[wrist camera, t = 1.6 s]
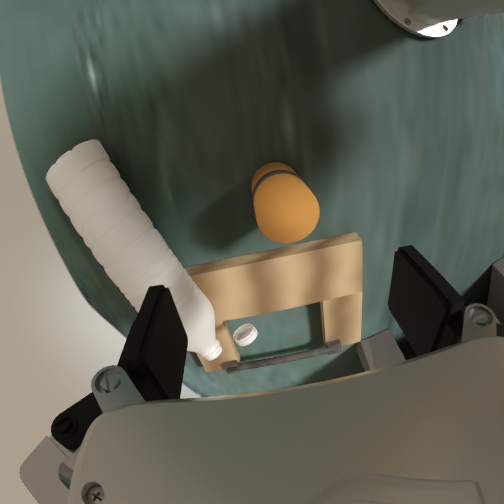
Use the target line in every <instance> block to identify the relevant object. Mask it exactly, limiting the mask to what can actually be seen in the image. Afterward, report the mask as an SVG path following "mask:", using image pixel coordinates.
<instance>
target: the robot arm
mask: <svg viewBox="0 0 504 504" xmlns="http://www.w3.org/2000/svg"><path fill="white" fill-rule="evenodd" d="M373 1H374V3H375V4H376V5H377V6H378V7H379V9H380V10H381V11H382V12H383V13H384V14H385V15H386V16H387V17H388V18H389V19H390V20H392V21H393V22H394V23H396V24H397V25H398V26H400V27H401V28H403V29H405V30H406V31H408V32H410V33H412V34H415V35H417V36H421V37H425V38H437V37H442V36H445V35H448V34H449V33H450V32H452V31H453V29H454V28H455V26H456V23H457V20H458V19H462V18H468V17H473V16H479V17H482V18H486V17H487V15H488V14H493V13H502V12H504V0H373ZM388 306H389V309H390V311H391V313H392V315H393V316H394V318H395V319H396V321H397V323H398V324H399V326H400V328H401V329H402V331H403V333H404V334H405V336H406V338H407V340H408V341H409V343H410V345H411V346H412V348H413V350H414V352H415V353H416V355H417V357H415V358H411V359H408V360H405V361H402V362H398V363H395V364H392V365H388V366H385V367H381V368H377V369H373V370H370V371H366V372H362V373H358V374H354V375H349V376H345V377H341V378H336V379H332V380H327V381H322V382H317V383H312V384H306V385H301V386H295V387H289V388H282V389H276V390H269V391H262V392H254V393H245V394H236V395H226V396H214V397H201V398H187V399H180V394H181V387H182V380H183V373H184V366H185V359H186V353H187V347H188V337H187V334H186V331H185V329H184V326H183V324H182V321H181V318H180V316H179V313H178V311H177V308H176V305H175V303H174V300H173V297H172V295H171V292H170V289H169V288H168V287H167V288H165V286H164V285H155V286H149V288H148V290H147V293H146V295H145V298H144V300H143V303H142V305H141V308H140V310H139V313H138V315H137V318H136V320H134V322H133V324H132V327H131V329H130V332H129V334H128V337H127V340H126V343H125V345H124V348H123V351H122V354H121V356H120V359H119V362H118V365H117V366H114V365H112V366H107V367H105V368H103V369H101V370H100V371H98V372H97V373H96V375H95V376H94V377H93V379H92V382H91V387H92V391H93V392H92V393H90V394H89V395H87V396H86V397H84V398H83V399H81V400H80V401H79V402H77V403H75V404H74V405H72V406H71V407H70V408H68V409H66V410H65V411H64V412H62V413H60V414H59V415H58V416H57V417H56V418H55V419H54V421H53V423H52V426H51V433H52V435H51V437H50V438H49V437H48V436H46V437H45V438H44V439H43V440H42V441H41V443H40V444H39V445H38V446H37V447H36V449H34V451H33V452H32V453H31V454H30V455H29V456H28V458H27V459H26V460H25V461H24V462H23V464H22V465H21V467H20V478H21V480H22V482H23V483H24V485H25V486H26V487H27V489H28V490H29V491H30V493H31V494H32V495H33V497H34V498H35V499H36V500H37V502H38V503H39V504H504V325H501V324H498V323H496V315H495V314H494V312H493V311H492V310H491V309H490V308H489V307H487V306H486V305H483V304H478V303H475V304H471V305H468V306H467V308H466V307H465V305H464V300H463V298H462V297H461V296H460V295H459V294H458V293H457V292H456V290H455V289H454V288H453V287H452V286H451V285H450V284H449V283H448V282H447V281H446V280H445V278H444V277H443V276H442V275H441V274H440V273H439V272H438V271H437V270H436V269H435V268H434V267H433V266H432V265H431V264H430V263H429V262H428V261H427V260H426V259H425V258H424V257H423V256H422V255H421V254H420V253H419V252H418V251H417V250H416V249H415V248H414V247H413V246H412V245H409V246H404V247H400V248H399V249H398V251H396V252H395V255H394V264H393V272H392V280H391V287H390V294H389V300H388Z"/></svg>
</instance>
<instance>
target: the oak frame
mask: <svg viewBox="0 0 504 504" xmlns="http://www.w3.org/2000/svg"><path fill="white" fill-rule="evenodd" d="M184 269H185V270H186V271H187V273H188V275H190V276H191V278H192V280H193V281H194V282H195V283H196V284H197V287H198V288H200V290H201V291H202V292H203V293H204V294H205V296H206V297H207V298H208V299H209V301H210V302H211V304H212V307H213V309H214V313H215V334H216V339H218V340H219V341H220V345H221V347H222V352H221V353H220V355H219V356H218V357H217V358H215V359H213V360H211V361H208V360H206V359H205V358H203V357H200V356H199V353H197V352H196V353H197V355H198V357H199V359H200V361H201V363H202V365H203V367H204V369H205V371H206V372H208V371H216V370H224V369H225V370H226V372H227V374H229V373H236V372H240V370H246V369H252V368H258V367H264V366H270V365H275V364H280V363H285V362H291V361H295V360H300V359H305V358H309V357H314V356H318V355H323V354H327V353H328V355H329V354H333V353H337V352H341V346H345V345H349V344H353V343H357V342H360V339H361V319H362V240H361V238H360V237H359V236H358V235H357V233H356V232H353V233H349V234H344V235H339V236H334V237H330V238H325V239H320V240H315V241H311V242H306V243H301V244H296V245H292V246H287V247H282V248H277V249H273V250H268V251H263V252H258V253H254V254H249V255H244V256H239V257H234V258H230V259H225V260H220V261H215V262H210V263H206V264H201V265H196V266H191V267H186V268H184ZM317 302H320V309H321V321H322V334H323V342H324V345H325V347H321V348H316V349H312V350H307V351H303V352H298V353H293V354H289V355H284V356H278V357H273V358H268V359H262V360H256V361H250V362H244V363H240V355H239V352H238V349H237V347H236V344H235V341H234V339H233V336H232V333H231V331H230V328H229V325H228V322H227V320H233V319H238V318H244V317H249V316H254V315H259V314H265V313H270V312H275V311H280V310H284V309H289V308H294V307H299V306H303V305H308V304H312V303H317Z"/></svg>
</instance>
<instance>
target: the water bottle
mask: <svg viewBox="0 0 504 504" xmlns="http://www.w3.org/2000/svg"><path fill="white" fill-rule="evenodd" d="M46 181H47V183H48V185H49V187H50V189H51V190H52V192H53V194H54V196H55V197H56V198H57V199H59V203H60V205H61V207H62V209H63V210H64V212H65V213H66V215H67V216H69V217H70V220H71V223H72V224H73V226H74V228H75V229H76V231H77V232H78V233H79V235H80V236H81V237H83V240H84V242H85V244H86V245H87V247H89V248H90V249H91V250H92V254H93V255H94V257H95V258H96V260H97V261H98V262H99V263H100V264H101V265H102V266H103V267H104V270H105V272H106V273H107V275H108V276H109V277H110V279H111V280H112V281H113V282H114V283H115V285H116V286H118V287H119V289H120V291H121V292H122V293H124V296H125V297H126V298H127V299H128V300H129V301H130V303H131V305H132V306H134V307H135V309H136V311H137V312H138V313H139V310H140V308H141V305H142V303H143V300H144V298H145V295H146V293H147V290H148V288H149V286H155V285H164V286H165V288H167V287H168V288H169V289H170V292H171V295H172V297H173V300H174V303H175V305H176V308H177V311H178V313H179V316H180V318H181V321H182V324H183V326H184V329H185V331H186V334H187V337H188V347H187V351H191V352H197V353H199V356H200V357H203V358H205V359H206V360H208V361H211V360H213V359H215V358H217V357H218V356H219V355H220V353H221V352H222V347H221V345H220V341H219V340H218V339H216V334H215V313H214V309H213V307H212V304H211V302H210V301H209V299H208V298H207V297H206V296H205V294H204V293H203V292H202V291H201V290H200V288H198V287H197V284H196V283H195V282H194V281H193V280H192V278H191V276H190V275H188V273H187V271H186V270H185V269H184V268H183V266H182V264H181V263H180V262H179V261H178V259H177V257H176V256H175V255H173V252H172V250H171V249H170V248H168V245H167V244H166V242H165V241H164V239H163V237H162V236H161V234H160V233H159V232H158V230H157V229H155V228H154V227H153V224H152V222H151V220H150V219H149V217H148V216H147V214H146V213H145V212H144V211H142V210H141V206H140V204H139V203H138V201H137V199H136V198H135V197H134V196H133V195H132V194H131V193H130V190H129V188H128V186H127V184H126V183H125V182H124V180H122V179H121V178H120V174H119V172H118V170H117V169H116V167H115V166H114V164H113V163H111V162H110V158H109V156H108V154H107V153H106V151H105V149H104V148H103V146H102V144H101V143H100V142H99V141H98V140H95V139H93V140H89V141H88V142H87V141H85V142H82V143H80V144H78V145H76V146H75V147H73V149H72V151H67V152H66V153H64V154H63V155H62V156H61V157H60V158H59V159H58V160H57V161H56V163H55V164H53V165H52V166H51V167H50V169H49V170H48V172H47V176H46ZM249 325H251V326H249ZM245 326H246V327H245ZM239 330H240V331H239ZM238 331H239V332H238ZM237 332H238V333H237ZM235 335H236V336H235ZM256 336H257V330H256V329H255V327H254V326H253V325H252V324H245V325H243V326H241V327H240V328H238V329H237V330H236V331H235V333H234V335H233V339H234V340H235V341H236V343H237V344H238V345H240V346H246V345H248V344H250V343H251V342H252V341H254V339H255V338H256Z"/></svg>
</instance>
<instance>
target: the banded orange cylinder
mask: <svg viewBox="0 0 504 504" xmlns="http://www.w3.org/2000/svg"><path fill="white" fill-rule="evenodd" d="M251 189H252V203H253V209H254V212H255V214H256V221H257V224H258V226H259V228H260V230H261V231H262V233H263V234H264V235H265V236H266V237H268V238H269V239H271V240H273V241H276V242H280V243H293V242H296V241H299V240H301V239H303V238H305V237H306V236H308V235H309V234H310V233H311V232H312V231H313V229H314V228H315V226H316V224H317V222H318V219H319V204H318V201H317V199H316V197H315V196H314V194H313V193H312V192H311V191H310V189H309V187H308V185H307V184H306V183H305V181H304V180H303V179H302V178H301V177H300V176H299V175H297V174H296V172H295V171H294V170H293V169H292V168H291V167H290V166H288V165H286V164H284V163H280V162H271V163H267V164H265V165H263V166H261V167H260V168H259V169H258V170H257V171H256V172H255V174H254V176H253V178H252V182H251Z"/></svg>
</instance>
